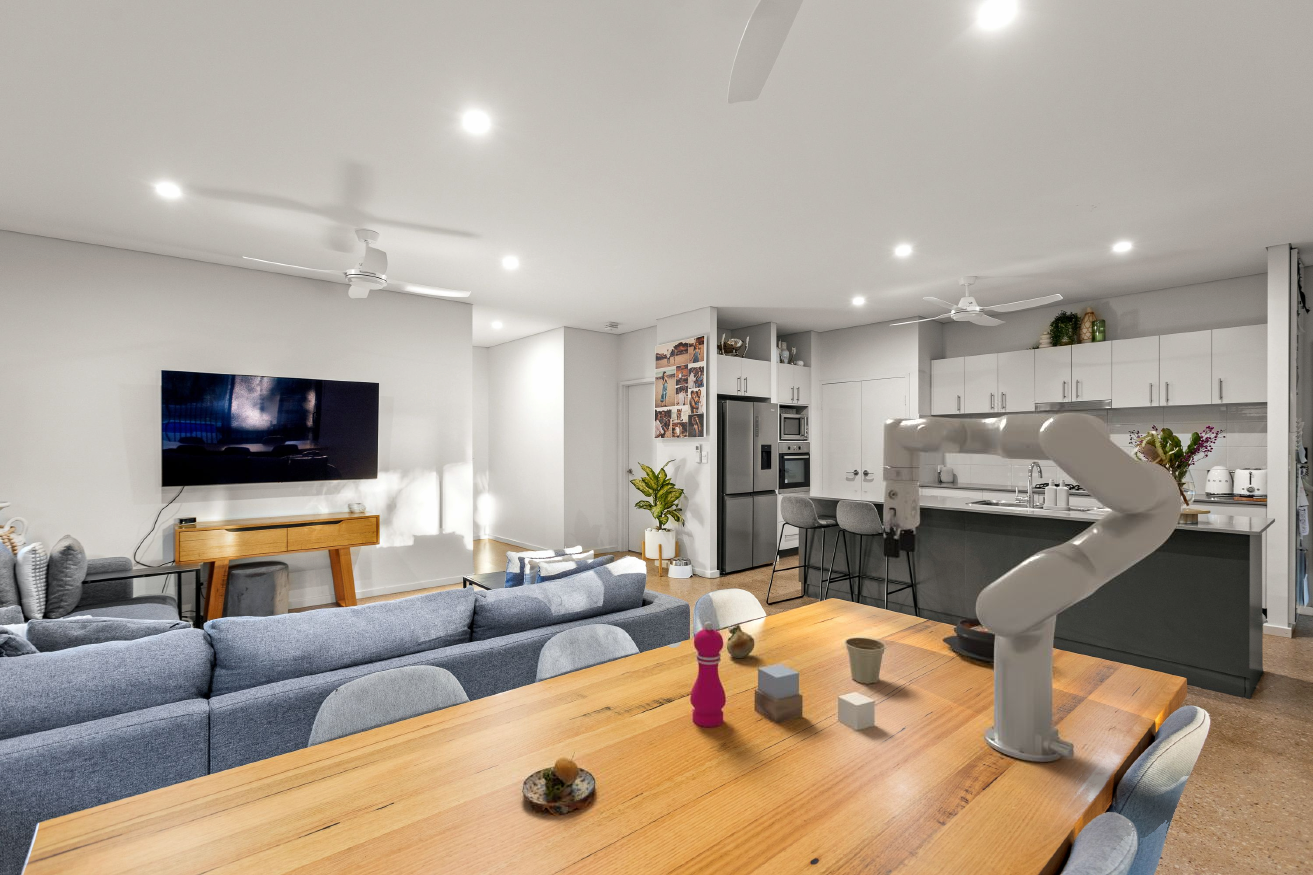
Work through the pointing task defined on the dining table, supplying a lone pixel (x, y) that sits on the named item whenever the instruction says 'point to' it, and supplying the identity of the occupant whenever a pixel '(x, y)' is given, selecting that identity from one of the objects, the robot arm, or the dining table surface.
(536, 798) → the small plate of food
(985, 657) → the casserole
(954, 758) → the dining table surface
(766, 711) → the walnut block
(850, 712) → the cream block
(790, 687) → the slate block
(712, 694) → the pepper mill
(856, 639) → the flower pot
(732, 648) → the onion
